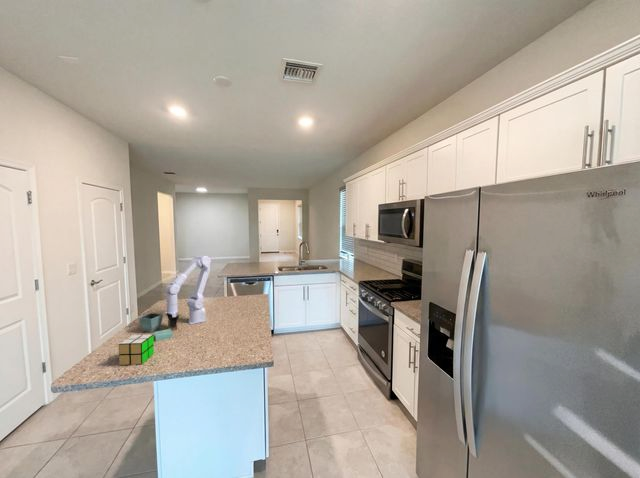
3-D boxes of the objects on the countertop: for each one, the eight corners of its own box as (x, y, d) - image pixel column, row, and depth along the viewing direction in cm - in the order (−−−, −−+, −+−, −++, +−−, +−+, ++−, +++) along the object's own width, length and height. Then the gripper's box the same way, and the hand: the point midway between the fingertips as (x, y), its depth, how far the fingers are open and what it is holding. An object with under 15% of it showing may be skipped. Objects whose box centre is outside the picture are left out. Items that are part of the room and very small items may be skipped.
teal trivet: (170, 333, 151) (170, 328, 151) (172, 338, 144) (172, 333, 144) (154, 337, 146) (154, 331, 146) (155, 342, 139) (155, 336, 139)
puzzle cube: (132, 354, 125) (132, 334, 125) (154, 353, 126) (153, 334, 125) (118, 365, 115) (118, 343, 115) (141, 364, 116) (141, 343, 116)
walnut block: (176, 327, 160) (176, 318, 160) (177, 329, 156) (177, 320, 156) (167, 328, 157) (167, 320, 157) (168, 331, 153) (168, 322, 153)
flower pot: (151, 334, 149) (151, 319, 148) (138, 332, 151) (138, 317, 150) (163, 328, 157) (163, 314, 157) (151, 327, 159) (151, 313, 159)
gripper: (163, 302, 159) (163, 323, 160) (166, 307, 148) (166, 330, 148) (175, 300, 163) (176, 320, 164) (180, 305, 152) (180, 328, 153)
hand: (172, 325), depth 156 cm, fingers open, 7 cm apart
